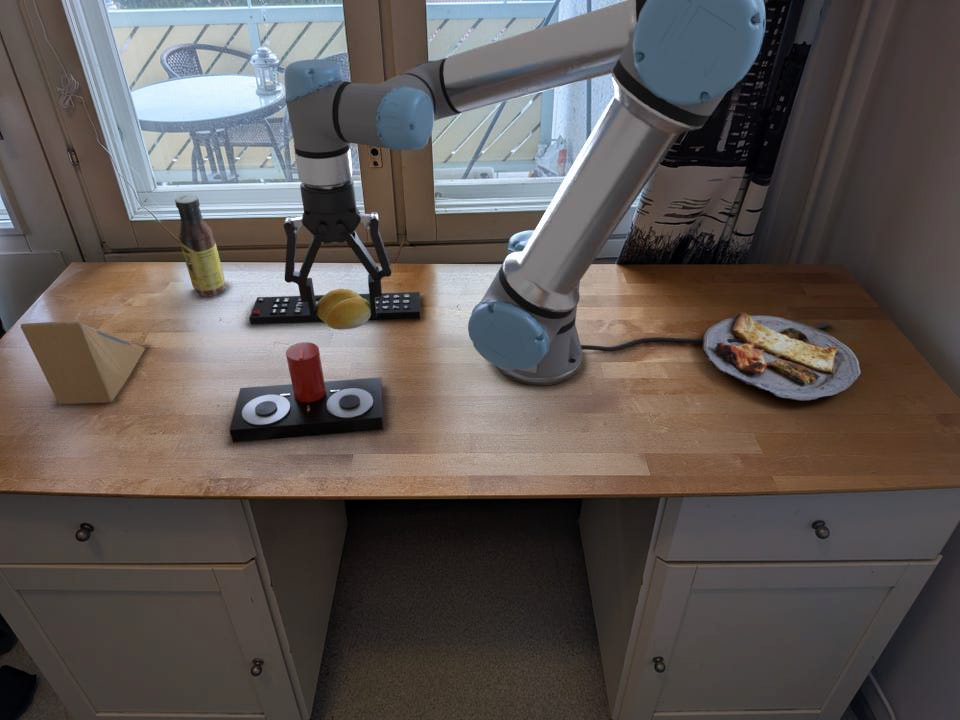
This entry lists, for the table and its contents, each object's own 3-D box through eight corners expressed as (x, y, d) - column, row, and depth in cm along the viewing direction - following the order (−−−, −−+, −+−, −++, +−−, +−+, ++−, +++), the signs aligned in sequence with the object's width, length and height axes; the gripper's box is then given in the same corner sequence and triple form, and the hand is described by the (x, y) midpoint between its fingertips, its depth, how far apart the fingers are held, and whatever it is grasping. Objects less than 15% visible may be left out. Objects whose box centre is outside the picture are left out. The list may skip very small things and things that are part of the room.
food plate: (676, 359, 113) (680, 343, 111) (739, 311, 127) (743, 295, 125) (820, 427, 99) (827, 409, 97) (873, 364, 113) (881, 347, 111)
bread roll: (338, 337, 100) (335, 315, 98) (310, 314, 106) (306, 293, 103) (383, 319, 105) (381, 298, 102) (353, 297, 110) (351, 277, 108)
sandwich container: (147, 347, 115) (121, 272, 106) (113, 402, 103) (80, 322, 94) (97, 349, 115) (66, 273, 106) (57, 404, 102) (18, 324, 93)
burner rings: (372, 388, 102) (372, 385, 102) (373, 416, 97) (372, 413, 96) (246, 397, 100) (245, 394, 100) (238, 428, 94) (237, 424, 94)
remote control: (257, 303, 128) (255, 295, 127) (419, 298, 130) (419, 289, 129) (249, 324, 122) (247, 315, 120) (420, 318, 124) (419, 309, 123)
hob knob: (295, 384, 103) (287, 341, 98) (326, 382, 103) (319, 339, 98) (292, 404, 99) (283, 359, 94) (325, 401, 99) (317, 357, 94)
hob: (382, 383, 107) (380, 370, 106) (383, 429, 98) (381, 416, 96) (245, 393, 105) (241, 380, 103) (232, 442, 95) (228, 429, 94)
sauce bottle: (195, 285, 134) (169, 192, 122) (227, 281, 135) (204, 189, 123) (193, 300, 128) (166, 205, 117) (227, 296, 130) (203, 201, 118)
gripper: (401, 168, 96) (409, 299, 109) (251, 174, 94) (278, 308, 107) (403, 186, 90) (412, 323, 103) (243, 193, 88) (273, 332, 101)
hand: (344, 315), depth 105 cm, fingers closed on bread roll, 9 cm apart
